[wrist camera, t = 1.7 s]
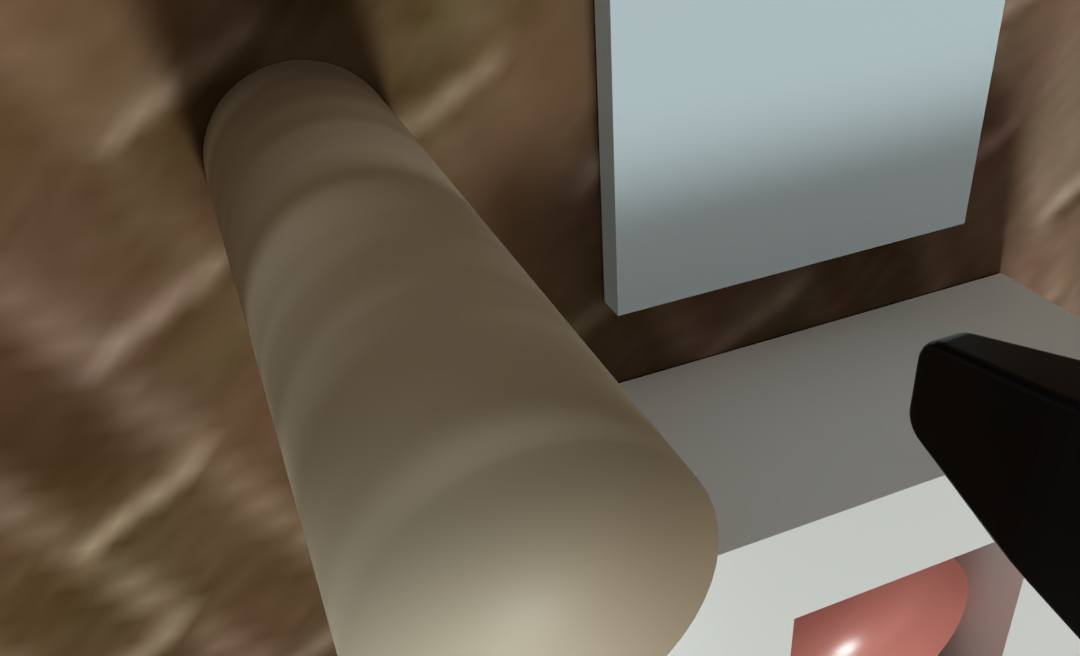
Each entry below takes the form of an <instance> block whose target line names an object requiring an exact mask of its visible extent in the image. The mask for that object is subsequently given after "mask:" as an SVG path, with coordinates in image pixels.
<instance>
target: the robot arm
mask: <svg viewBox="0 0 1080 656" xmlns="http://www.w3.org/2000/svg"><path fill="white" fill-rule="evenodd" d="M909 414H910V422H911V425H912V428H913V431H914V433H915V435H916V436H917V438H918V440H919V441H920V442H921V444H922V445H923V446H924V448H925V449H926V450H927V452H928V453H929V454H930V456H931V457H932V458H933V460H934V461H935V462H936V464H937V465H938V467H939V468H940V469H941V471H942V472H943V473H944V475H945V476H946V477H947V479H948V480H949V481H950V483H951V484H952V485H953V487H954V488H955V489H956V491H957V492H958V493H959V495H960V496H961V497H962V499H963V500H964V501H965V503H966V504H967V506H968V507H969V508H970V510H971V511H972V512H973V514H974V515H975V516H976V518H977V519H978V520H979V522H980V523H981V524H982V526H983V527H984V528H985V530H986V531H987V532H988V534H989V535H990V536H991V538H992V539H993V540H994V542H995V543H996V544H997V546H998V547H999V548H1000V549H1001V551H1002V552H1003V553H1004V555H1005V556H1006V557H1007V558H1008V560H1009V561H1010V562H1011V563H1012V564H1013V565H1014V567H1015V568H1016V569H1017V570H1018V571H1019V572H1020V574H1021V575H1022V576H1023V577H1024V578H1025V579H1026V581H1027V582H1028V583H1029V584H1030V585H1031V586H1032V587H1033V588H1034V589H1035V591H1036V592H1037V593H1038V594H1039V595H1040V596H1041V597H1042V598H1043V599H1044V600H1045V602H1046V603H1047V604H1048V605H1049V606H1050V607H1051V608H1052V609H1053V610H1054V612H1055V613H1056V614H1057V615H1058V616H1059V617H1060V618H1061V619H1062V620H1063V622H1064V623H1065V624H1066V625H1067V626H1068V627H1069V628H1070V629H1071V630H1072V631H1073V633H1074V634H1075V635H1076V636H1077V637H1078V638H1079V639H1080V360H1078V359H1074V358H1070V357H1066V356H1061V355H1057V354H1053V353H1049V352H1045V351H1041V350H1037V349H1033V348H1029V347H1025V346H1021V345H1017V344H1013V343H1009V342H1005V341H1001V340H997V339H993V338H989V337H985V336H981V335H976V334H972V333H956V334H953V335H949V336H946V337H943V338H940V339H936V340H933V341H931V342H929V343H927V344H926V345H924V347H923V349H922V350H921V352H920V354H919V357H918V362H917V368H916V374H915V380H914V386H913V392H912V398H911V404H910V412H909Z"/></svg>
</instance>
